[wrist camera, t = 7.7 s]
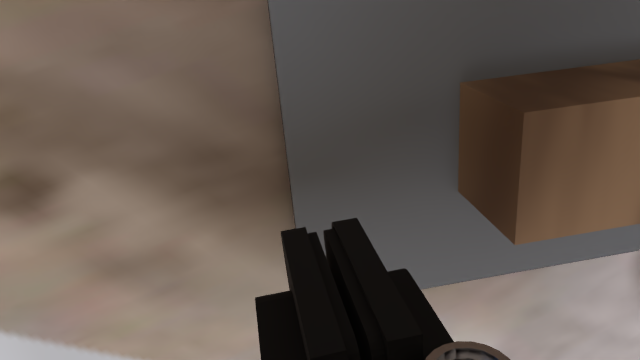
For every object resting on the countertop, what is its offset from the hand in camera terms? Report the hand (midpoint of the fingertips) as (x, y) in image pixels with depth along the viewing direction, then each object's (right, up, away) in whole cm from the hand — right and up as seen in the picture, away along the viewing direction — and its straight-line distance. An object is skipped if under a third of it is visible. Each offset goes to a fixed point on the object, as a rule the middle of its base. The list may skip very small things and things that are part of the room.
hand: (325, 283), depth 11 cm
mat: (+6, +4, +7) cm, 10 cm away
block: (+5, +3, +5) cm, 8 cm away
